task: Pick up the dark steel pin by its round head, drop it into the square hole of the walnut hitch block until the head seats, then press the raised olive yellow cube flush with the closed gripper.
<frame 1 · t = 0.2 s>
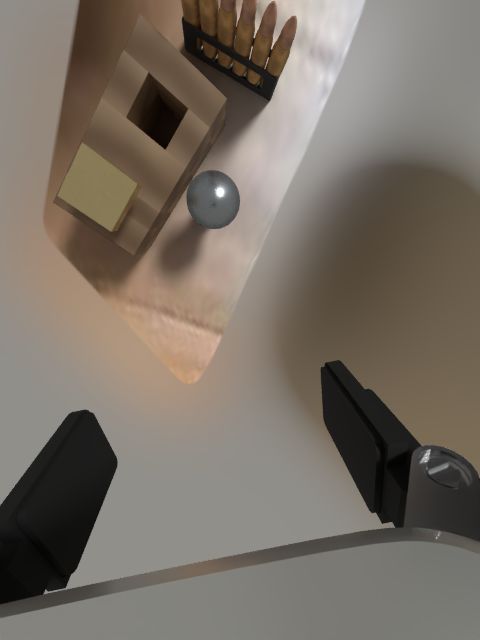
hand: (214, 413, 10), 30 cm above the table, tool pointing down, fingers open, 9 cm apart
pin: (214, 203, 35), on the table
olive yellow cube: (107, 191, 24), point 10 cm above the table, slide at 2.5 cm
ammunition clip: (232, 68, 29), on the table
hitch block: (154, 166, 32), on the table
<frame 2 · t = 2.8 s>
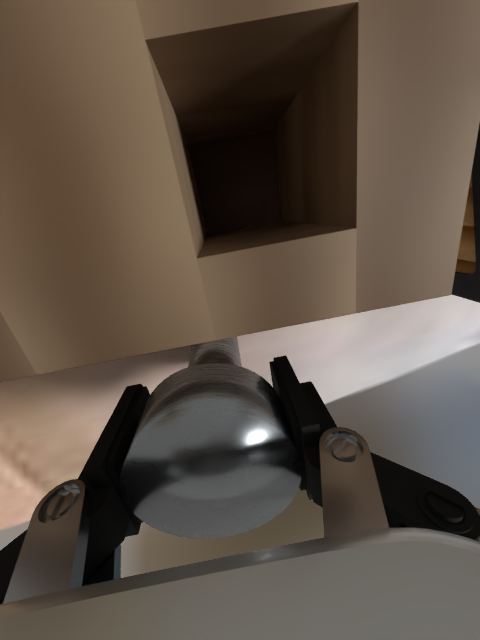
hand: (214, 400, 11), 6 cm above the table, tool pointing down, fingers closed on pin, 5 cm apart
pin: (215, 340, 16), on the table, touching gripper
ammunition clip: (419, 193, 14), on the table
hitch block: (162, 199, 13), on the table
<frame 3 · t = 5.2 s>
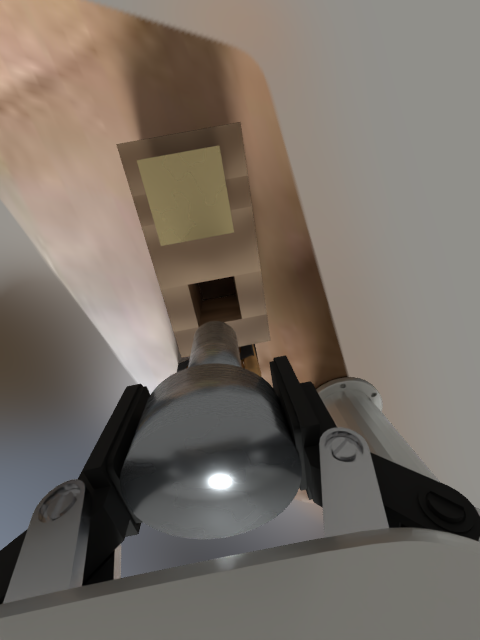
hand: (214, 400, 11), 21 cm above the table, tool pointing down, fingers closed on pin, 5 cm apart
pin: (215, 340, 16), point 16 cm above the table, touching gripper
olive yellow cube: (191, 200, 18), point 10 cm above the table, slide at 2.5 cm
ammunition clip: (216, 353, 35), on the table
hitch block: (208, 247, 29), on the table
when the fingers open (9 cm above the table, at t = 7.8 s): pin drops 3 cm, resting on hitch block.
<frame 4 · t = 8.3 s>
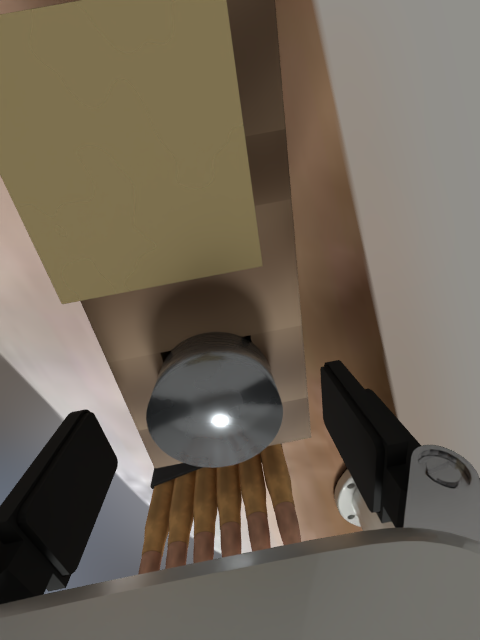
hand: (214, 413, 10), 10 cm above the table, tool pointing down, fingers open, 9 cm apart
pin: (216, 324, 19), point 1 cm above the table, touching hitch block
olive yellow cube: (153, 182, 7), point 10 cm above the table, slide at 2.5 cm
ammunition clip: (216, 418, 24), on the table
hitch block: (204, 268, 18), on the table
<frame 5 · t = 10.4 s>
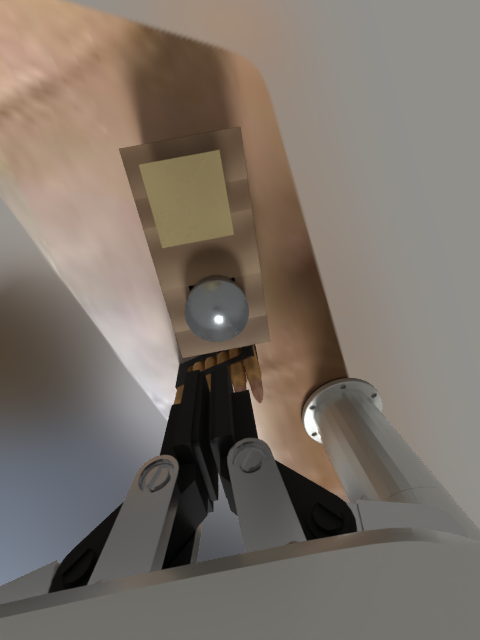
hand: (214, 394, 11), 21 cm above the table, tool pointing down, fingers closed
pin: (217, 284, 30), point 1 cm above the table, touching hitch block
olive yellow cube: (192, 203, 19), point 10 cm above the table, slide at 2.5 cm
ammunition clip: (217, 354, 35), on the table
hitch block: (209, 249, 29), on the table
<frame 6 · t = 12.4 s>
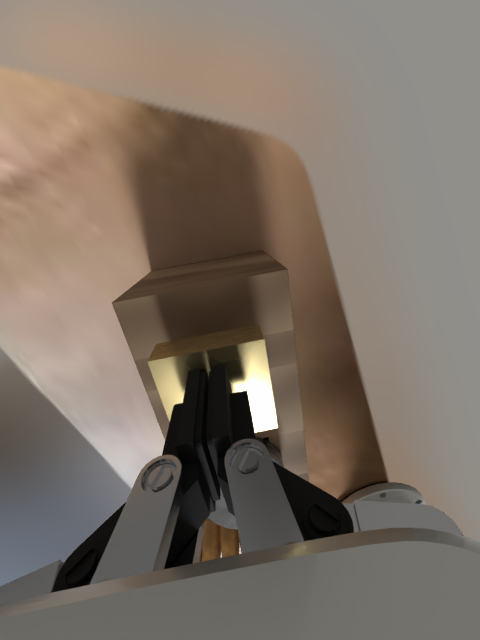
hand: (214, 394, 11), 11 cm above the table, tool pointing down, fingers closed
pin: (237, 398, 24), point 1 cm above the table, touching hitch block
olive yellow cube: (218, 369, 14), point 9 cm above the table, slide at 1.5 cm, touching gripper
ammunition clip: (233, 463, 29), on the table
hitch block: (228, 357, 24), on the table
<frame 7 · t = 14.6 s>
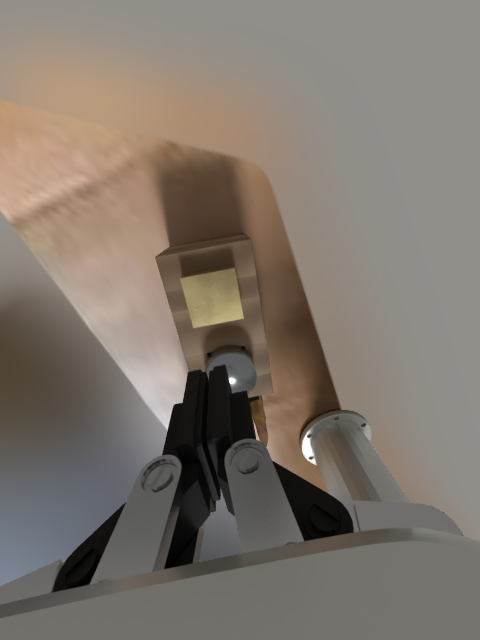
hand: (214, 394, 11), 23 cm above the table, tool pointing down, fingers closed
pin: (227, 337, 35), point 1 cm above the table, touching hitch block
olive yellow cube: (213, 292, 26), point 7 cm above the table, slide at 0.0 cm
ammunition clip: (225, 391, 40), on the table
hitch block: (220, 308, 34), on the table
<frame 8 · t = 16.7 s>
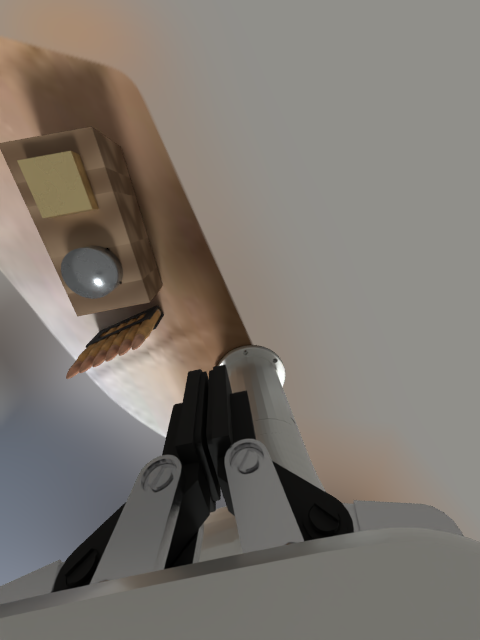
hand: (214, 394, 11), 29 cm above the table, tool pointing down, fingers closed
pin: (119, 259, 36), point 1 cm above the table, touching hitch block
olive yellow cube: (69, 188, 26), point 7 cm above the table, slide at 0.0 cm
ammunition clip: (132, 322, 41), on the table
hitch block: (111, 229, 35), on the table
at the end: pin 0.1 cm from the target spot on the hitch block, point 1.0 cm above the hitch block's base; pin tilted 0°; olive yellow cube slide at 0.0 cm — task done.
